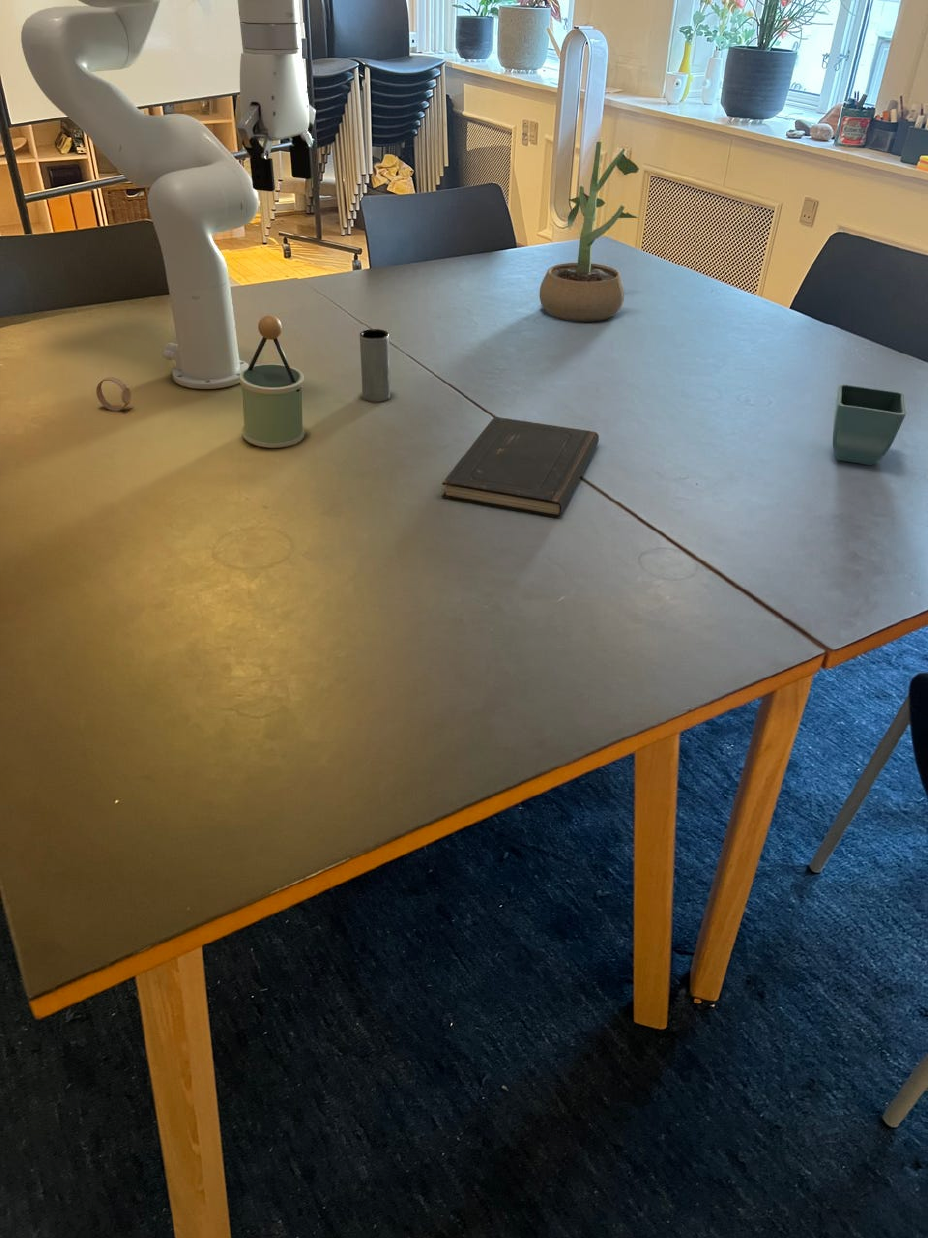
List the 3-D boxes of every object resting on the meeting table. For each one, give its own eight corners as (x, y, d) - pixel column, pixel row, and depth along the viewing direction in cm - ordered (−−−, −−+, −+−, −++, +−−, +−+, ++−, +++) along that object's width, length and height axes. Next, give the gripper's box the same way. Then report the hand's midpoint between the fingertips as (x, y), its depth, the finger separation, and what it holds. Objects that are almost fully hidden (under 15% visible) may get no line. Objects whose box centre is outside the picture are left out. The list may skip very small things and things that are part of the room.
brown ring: (126, 413, 146) (119, 382, 143) (97, 411, 146) (90, 379, 143) (134, 407, 148) (128, 376, 145) (106, 404, 148) (99, 373, 146)
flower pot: (886, 449, 140) (904, 391, 135) (888, 474, 133) (906, 414, 128) (824, 440, 142) (839, 382, 137) (822, 464, 135) (838, 404, 130)
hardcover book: (442, 497, 125) (442, 482, 124) (493, 430, 143) (494, 416, 141) (560, 518, 121) (561, 502, 120) (598, 446, 139) (599, 432, 137)
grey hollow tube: (386, 403, 151) (384, 339, 145) (359, 400, 151) (355, 336, 146) (393, 392, 154) (392, 330, 148) (367, 390, 155) (364, 327, 149)
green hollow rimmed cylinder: (283, 453, 135) (230, 437, 138) (315, 430, 142) (264, 415, 144) (280, 332, 125) (222, 318, 127) (315, 313, 131) (259, 300, 134)
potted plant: (623, 328, 183) (642, 157, 166) (531, 319, 187) (541, 151, 169) (633, 295, 201) (652, 138, 184) (549, 288, 205) (560, 133, 187)
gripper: (282, 34, 129) (293, 171, 139) (206, 41, 116) (224, 192, 126) (330, 36, 127) (338, 175, 137) (258, 44, 114) (272, 198, 123)
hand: (283, 183), depth 131 cm, fingers open, 9 cm apart
